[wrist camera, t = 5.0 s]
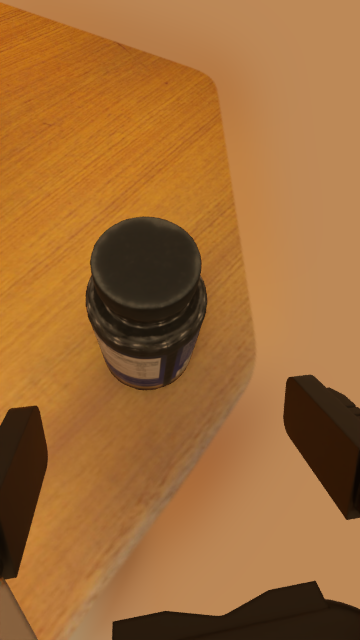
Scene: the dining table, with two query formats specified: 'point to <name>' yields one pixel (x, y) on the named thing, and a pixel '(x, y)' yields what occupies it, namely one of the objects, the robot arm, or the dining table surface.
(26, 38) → the dining table surface
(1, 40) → the dining table surface
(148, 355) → the pill bottle
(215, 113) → the dining table surface
